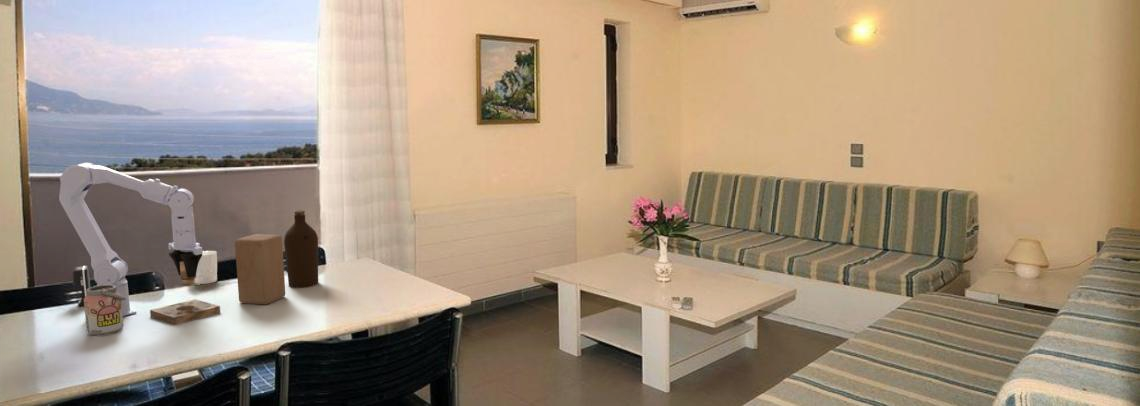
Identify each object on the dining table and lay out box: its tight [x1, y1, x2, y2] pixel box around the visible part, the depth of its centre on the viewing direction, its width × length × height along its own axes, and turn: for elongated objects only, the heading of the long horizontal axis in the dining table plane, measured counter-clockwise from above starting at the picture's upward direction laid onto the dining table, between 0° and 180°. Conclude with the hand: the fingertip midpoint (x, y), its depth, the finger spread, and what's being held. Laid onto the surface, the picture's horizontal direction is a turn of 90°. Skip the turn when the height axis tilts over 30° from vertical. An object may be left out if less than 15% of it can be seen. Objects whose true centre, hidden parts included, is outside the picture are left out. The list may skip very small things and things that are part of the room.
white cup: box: [195, 250, 218, 285], centre depth 234 cm, size 8×8×10 cm
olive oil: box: [283, 209, 319, 288], centre depth 230 cm, size 11×11×25 cm
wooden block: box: [234, 233, 286, 305], centre depth 211 cm, size 10×10×20 cm
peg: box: [180, 261, 196, 287], centre depth 203 cm, size 4×4×7 cm
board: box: [149, 299, 221, 325], centre depth 198 cm, size 13×13×2 cm
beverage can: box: [84, 285, 126, 337], centre depth 183 cm, size 9×8×12 cm
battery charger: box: [72, 265, 91, 307], centre depth 208 cm, size 7×4×11 cm, turn 32°
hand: (187, 275), depth 202 cm, fingers closed on peg, 4 cm apart
